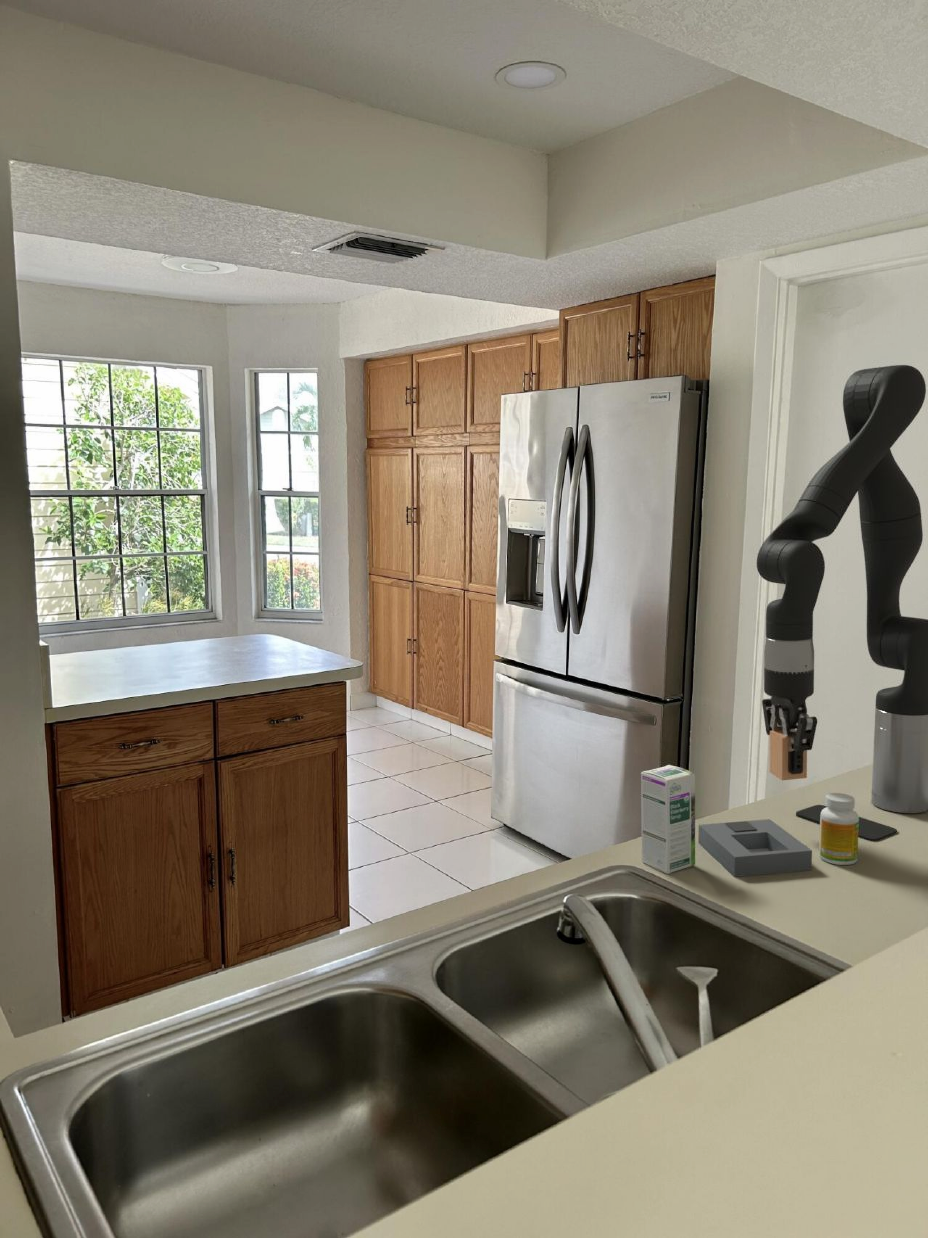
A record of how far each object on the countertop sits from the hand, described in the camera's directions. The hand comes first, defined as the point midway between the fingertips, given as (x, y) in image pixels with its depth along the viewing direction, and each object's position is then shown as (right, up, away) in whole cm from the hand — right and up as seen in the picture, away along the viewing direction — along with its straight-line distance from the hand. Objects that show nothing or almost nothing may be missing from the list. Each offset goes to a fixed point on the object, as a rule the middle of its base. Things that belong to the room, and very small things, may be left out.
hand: (787, 768), depth 148 cm
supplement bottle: (+4, -12, -10) cm, 16 cm away
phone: (+11, -11, +4) cm, 16 cm away
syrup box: (-22, -13, -10) cm, 27 cm away
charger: (0, -1, 0) cm, 1 cm away
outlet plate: (-8, -12, -8) cm, 17 cm away
